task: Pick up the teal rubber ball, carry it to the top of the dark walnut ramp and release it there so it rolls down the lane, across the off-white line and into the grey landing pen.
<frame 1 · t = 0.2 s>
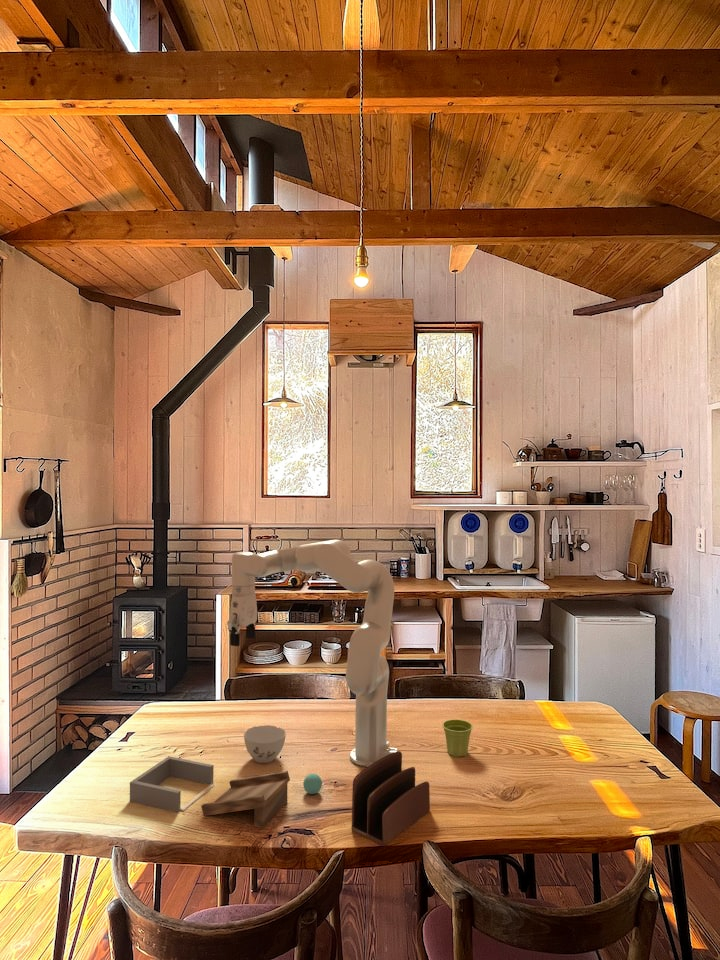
hand: (242, 641, 200), 31 cm above the table, fingers open, 9 cm apart
letter holder: (391, 822, 152), on the table
grey landing pen: (174, 792, 164), on the table
teal rubber ball: (312, 792, 165), on the table
plant pot: (457, 753, 189), on the table
teacup: (265, 758, 185), on the table
walnut ramp: (247, 808, 157), on the table
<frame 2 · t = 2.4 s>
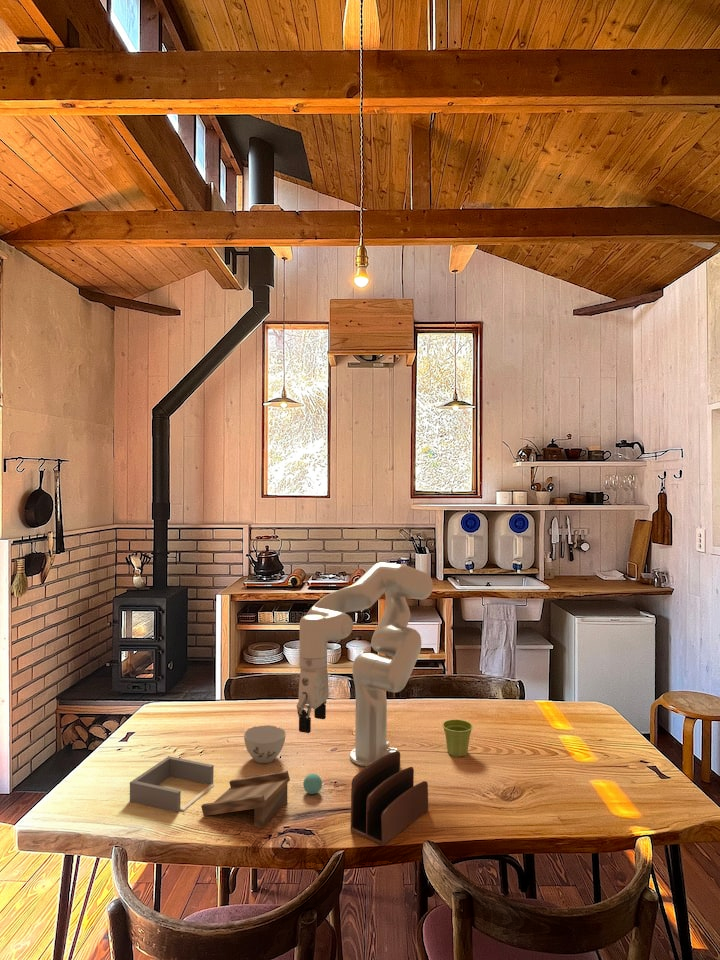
hand: (312, 725, 165), 18 cm above the table, fingers open, 9 cm apart
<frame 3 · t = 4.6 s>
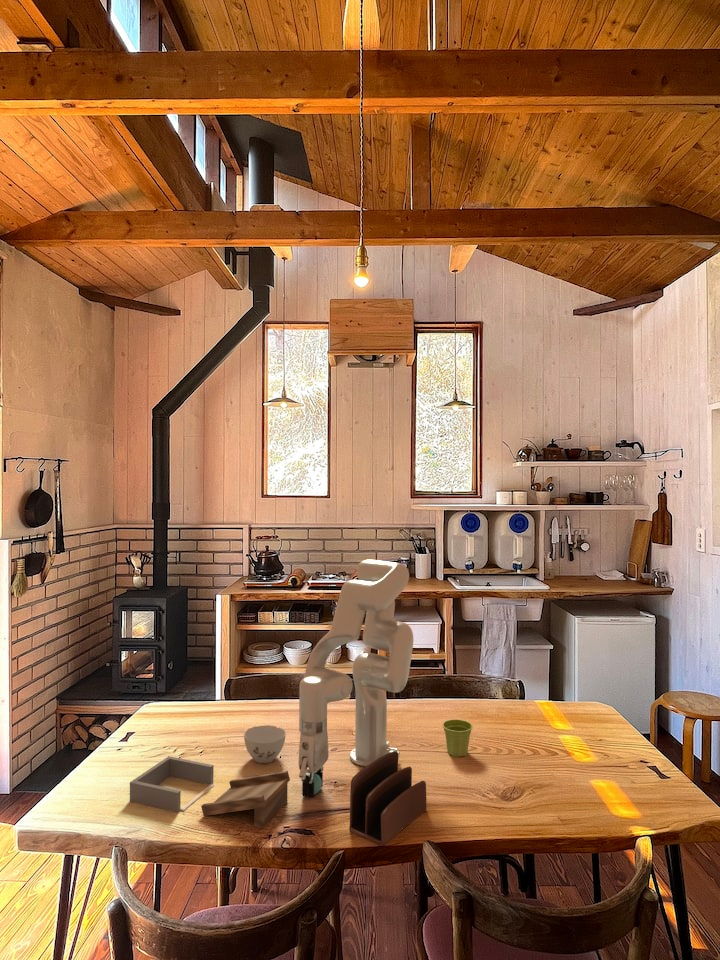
hand: (312, 790, 165), 1 cm above the table, fingers closed on teal rubber ball, 4 cm apart
teal rubber ball: (312, 793, 165), on the table, touching gripper
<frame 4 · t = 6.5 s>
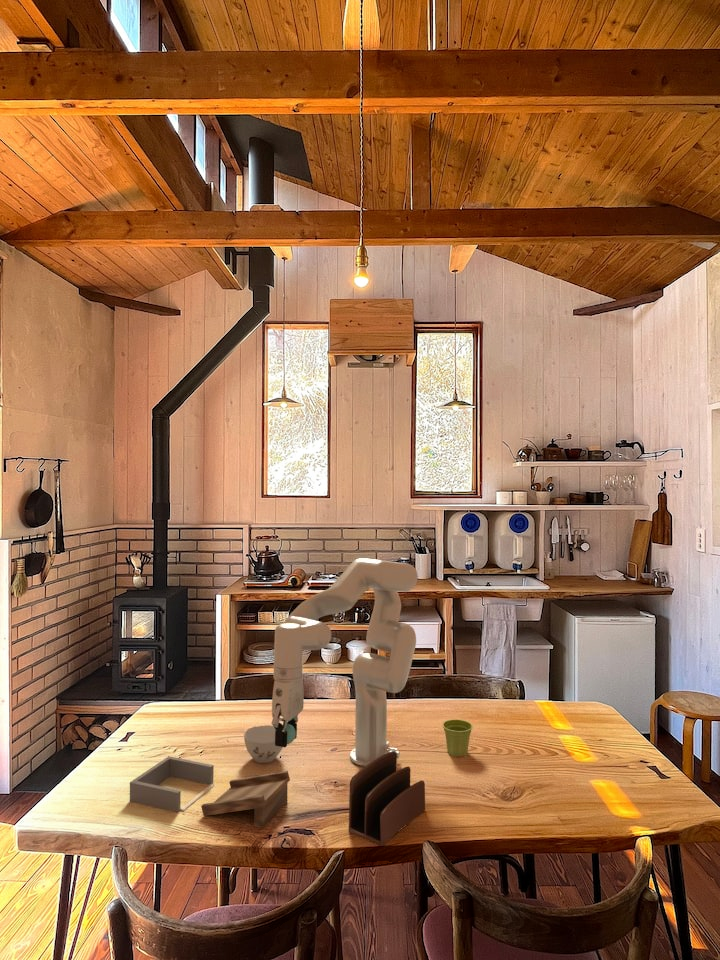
hand: (285, 741, 159), 16 cm above the table, fingers closed on teal rubber ball, 4 cm apart
teal rubber ball: (285, 743, 159), point 16 cm above the table, touching gripper
everything else where it was.
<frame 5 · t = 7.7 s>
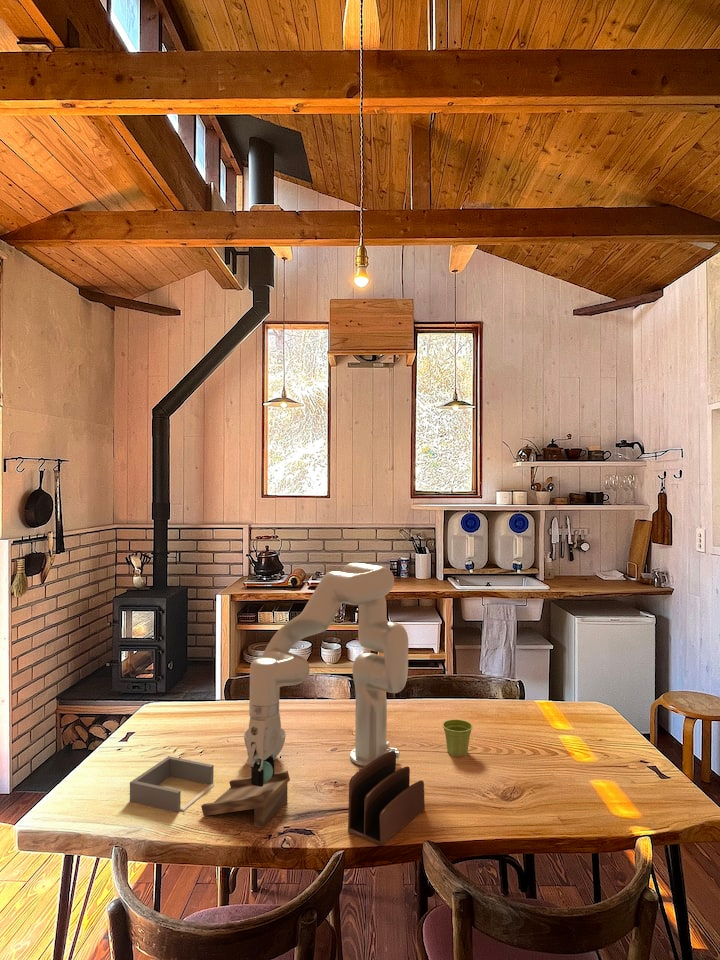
hand: (262, 779, 155), 8 cm above the table, fingers closed on teal rubber ball, 4 cm apart
teal rubber ball: (262, 781, 155), point 8 cm above the table, touching gripper
when the fingers open (7 cm above the table, at t = 8.2 s): teal rubber ball drops 4 cm and tips over, point 2 cm above the table.
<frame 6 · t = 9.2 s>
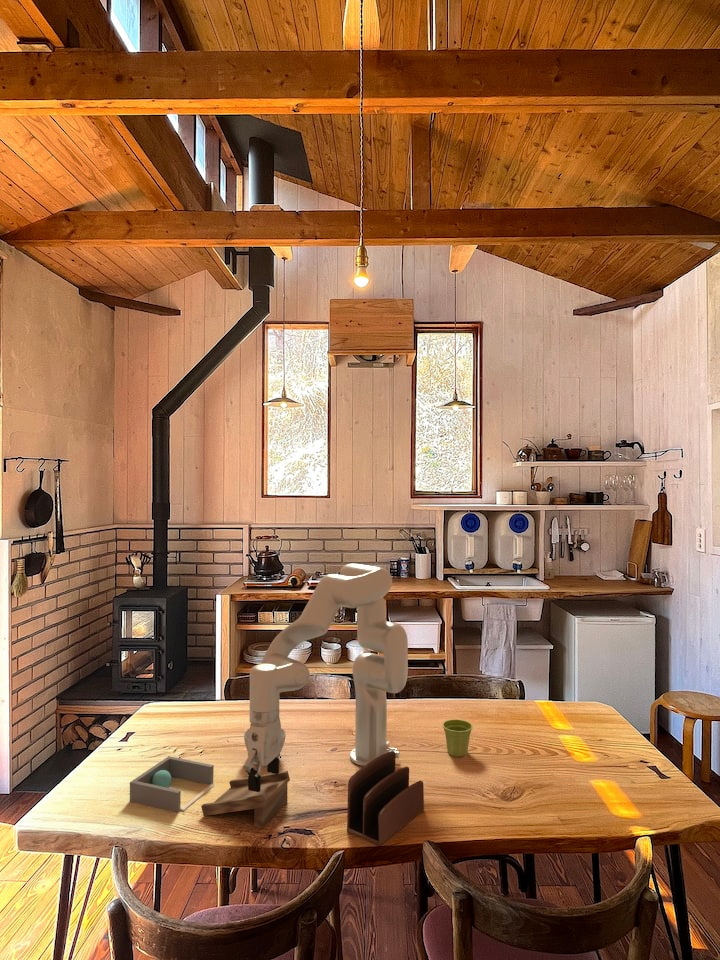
hand: (264, 781, 155), 8 cm above the table, fingers open, 9 cm apart
teal rubber ball: (169, 781, 165), point 2 cm above the table, tilted 90°
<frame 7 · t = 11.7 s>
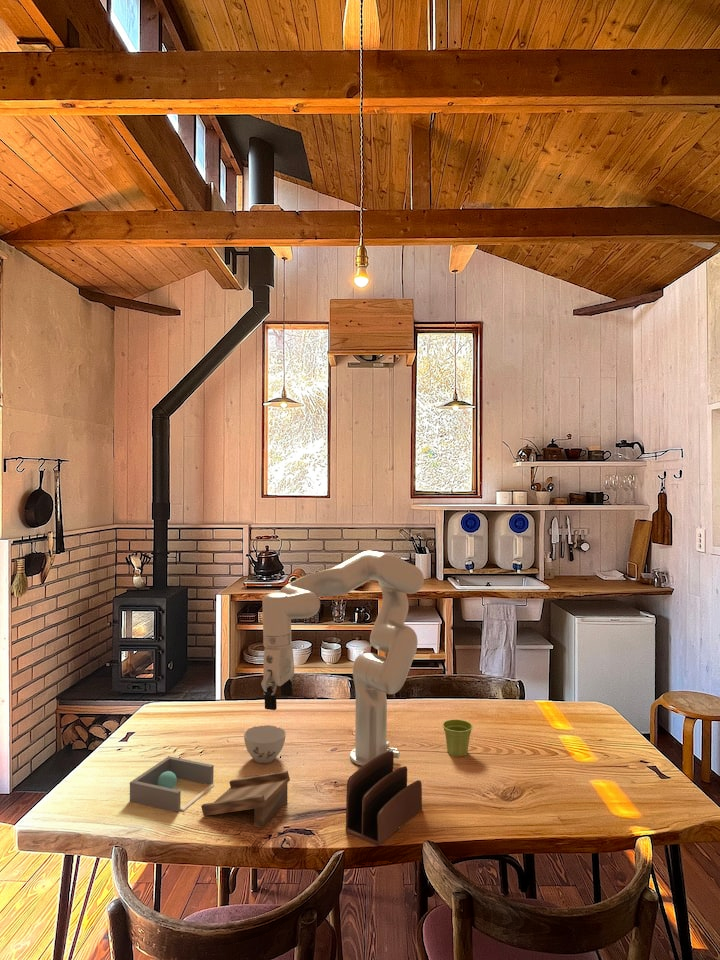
hand: (278, 702, 165), 24 cm above the table, fingers open, 9 cm apart
teal rubber ball: (172, 788, 165), point 1 cm above the table, tilted 49°
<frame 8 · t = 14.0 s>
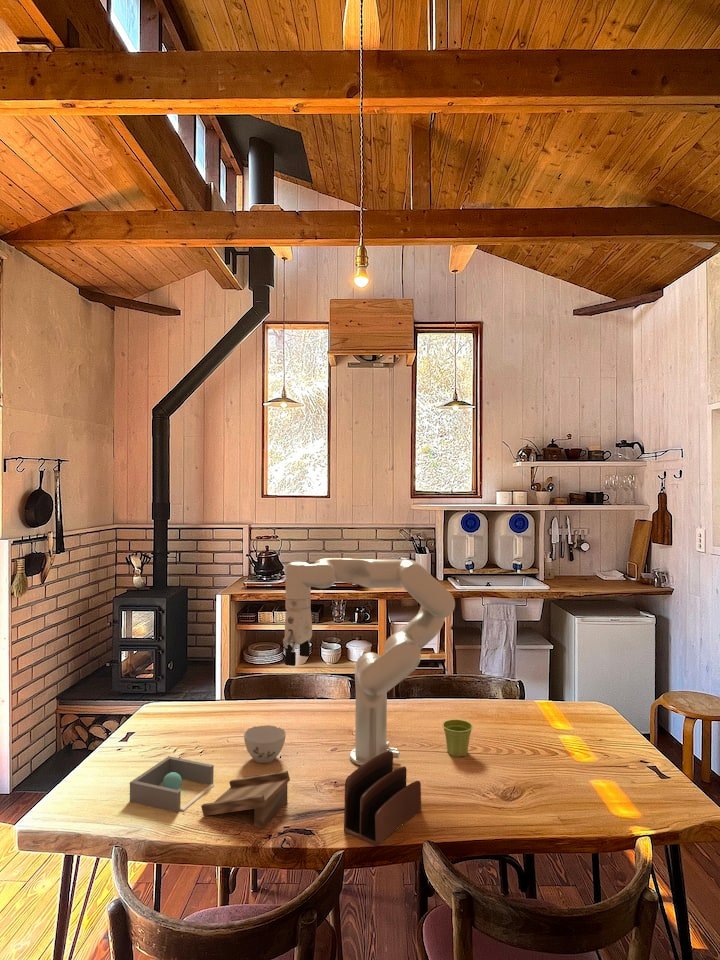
hand: (297, 660, 183), 30 cm above the table, fingers open, 9 cm apart
teal rubber ball: (173, 791, 165), on the table, tilted 11°
at the end: teal rubber ball inside the target area on the grey landing pen (0.2 cm from its centre), point 0.0 cm above the grey landing pen's base; the gripper is holding nothing; teal rubber ball moved 37.6 cm from its start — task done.
